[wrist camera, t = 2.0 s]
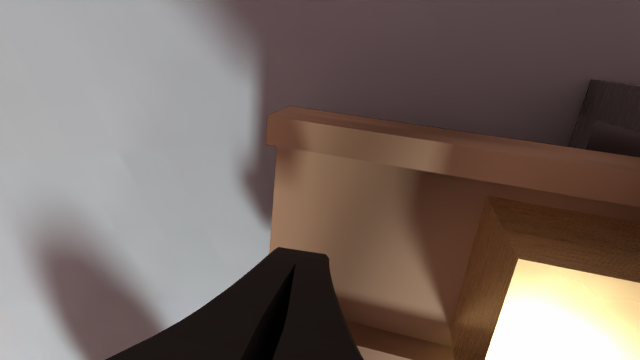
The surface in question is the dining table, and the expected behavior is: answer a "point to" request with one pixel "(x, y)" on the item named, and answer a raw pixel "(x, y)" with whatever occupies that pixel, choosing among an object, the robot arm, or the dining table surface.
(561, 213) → the block
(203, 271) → the dining table surface
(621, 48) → the dining table surface
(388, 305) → the beam
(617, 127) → the stand
